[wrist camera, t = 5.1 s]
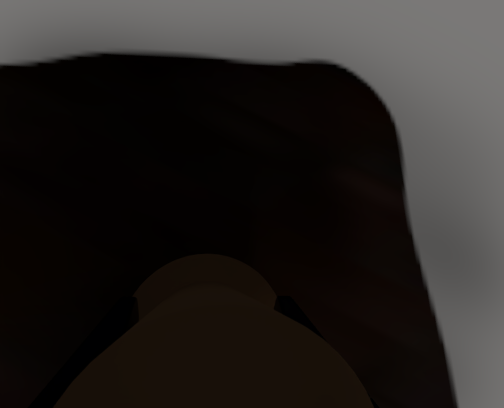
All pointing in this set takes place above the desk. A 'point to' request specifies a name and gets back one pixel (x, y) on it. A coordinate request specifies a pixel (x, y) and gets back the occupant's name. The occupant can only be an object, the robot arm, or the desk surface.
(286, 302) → the robot arm
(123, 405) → the brown waisted peg
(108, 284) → the desk surface
